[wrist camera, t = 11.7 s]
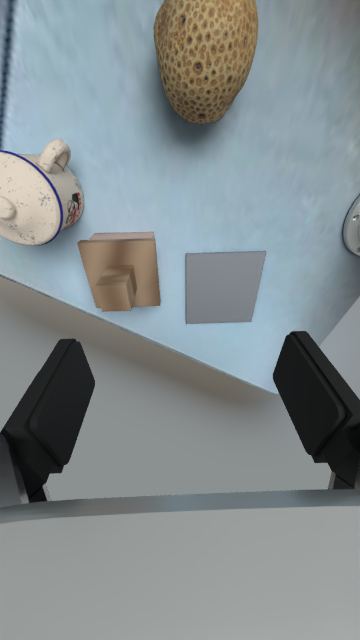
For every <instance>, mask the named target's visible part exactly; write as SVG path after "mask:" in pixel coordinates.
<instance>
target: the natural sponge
mask: <svg viewBox="0 0 360 640" xmlns="http://www.w3.org/2000/svg"><path fill="white" fill-rule="evenodd" d="M257 37H258V16H257V7H256V3H255V0H164V2H163V4H162V5H161V7H160V9H159V11H158V13H157V16H156V19H155V24H154V42H155V48H156V53H157V58H158V64H159V70H160V76H161V81H162V85H163V88H164V91H165V94H166V97H167V99H168V101H169V103H170V104H171V106H172V107H173V108H174V110H175V111H176V112H177V113H178V114H179V115H180V116H181V117H182V118H184V119H185V120H187V121H189V122H191V123H197V124H208V123H212V122H216V121H218V120H219V119H220V118H222V116H223V115H224V114H225V113H226V111H227V110H228V109H229V107H230V105H231V104H232V102H233V100H234V98H235V97H236V95H237V94H238V93H239V91H240V90H241V89H242V87H243V85H244V84H245V81H246V79H247V76H248V74H249V71H250V68H251V65H252V62H253V58H254V54H255V50H256V45H257Z"/></svg>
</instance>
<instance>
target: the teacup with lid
mask: <svg viewBox="0 0 360 640" xmlns="http://www.w3.org/2000/svg"><path fill="white" fill-rule="evenodd" d="M70 156H71V151H70V148H69V146H68V145H67V144H66V143H65V142H64V141H63V140H61V139H54V140H52V141H51V142H50V143H49V144H48V145H47V146H46V147H45V149H44V150H43V152H42V153H41V155H34V154H15V153H12V152H8V151H3V150H0V235H1V236H3V237H5V238H7V239H9V240H11V241H13V242H16V243H19V244H22V245H29V246H38V245H43V244H46V243H49V242H50V241H52V240H53V239H54V238H55V237H56V236H57V235H58V234H59V233H60V232H61V231H63V230H64V229H66V228H67V227H69V226H70V225H72V224H73V223H75V222H76V221H77V220H78V219H79V218H80V216H81V214H82V211H83V207H84V197H83V192H82V189H81V186H80V184H79V182H78V180H77V178H76V177H75V175H74V174H73V173H72V172H71V171H70V169H69V168H68V167H67V165H68V163H69V160H70Z"/></svg>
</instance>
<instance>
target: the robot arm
mask: <svg viewBox="0 0 360 640" xmlns="http://www.w3.org/2000/svg"><path fill="white" fill-rule="evenodd" d="M343 237H344V242H345V244H346V246H347V248H348V249H349V250H350V251H351V252H353V253H354V254H356V255H358V256H360V196H359V197H358V198H357V199H356V201H355V202H354V204H353V205H352V207H351V209H350V210H349V213H348V215H347V217H346V220H345V224H344V230H343ZM273 380H274V383H275V385H276V387H277V389H278V391H279V394H280V396H281V398H282V400H283V402H284V405H285V407H286V409H287V411H288V413H289V416H290V417H291V420H292V422H293V424H294V426H295V429H296V431H297V433H298V435H299V437H300V440H301V442H302V444H303V446H304V448H305V450H306V452H307V453H308V454H309V455H311V456H312V458H313V460H314V462H315V463H328V465H329V466H330V468H331V470H332V472H331V477H330V482H329V486H328V490H290V491H263V492H235V493H211V494H186V495H163V496H139V497H118V498H95V499H77V500H61V501H51V498H50V495H49V492H48V489H47V486H46V482H47V479H48V476H49V474H50V473H61V472H62V470H63V467H64V465H66V464H67V463H68V462H69V460H70V457H71V454H72V451H73V449H74V446H75V443H76V440H77V437H78V434H79V431H80V428H81V425H82V422H83V419H84V416H85V413H86V411H87V407H88V405H89V402H90V399H91V396H92V393H93V390H94V387H95V380H94V377H93V375H92V372H91V369H90V367H89V364H88V362H87V359H86V356H85V354H84V351H83V349H82V346H81V344H80V342H77V341H76V340H75V339H61V340H59V341H58V343H57V345H56V346H55V348H54V350H53V351H52V353H51V354H50V356H49V357H48V359H47V361H46V362H45V364H44V365H43V367H42V369H41V370H40V371H39V373H38V374H37V375H36V377H35V378H34V380H33V381H32V383H31V385H30V386H29V388H28V389H27V391H26V393H25V394H24V396H23V397H22V399H21V401H20V402H19V404H18V405H17V407H16V408H15V410H14V412H13V413H12V415H11V416H10V418H9V420H8V421H7V423H6V424H5V426H4V428H3V429H2V431H1V432H0V640H360V400H359V398H358V397H357V396H356V395H355V393H354V392H353V391H352V390H351V388H350V387H349V385H348V384H347V383H346V382H345V380H344V379H343V378H342V377H341V375H340V374H339V373H338V371H337V370H336V369H335V368H334V366H333V365H332V364H331V362H330V361H329V360H328V359H327V357H326V356H325V355H324V353H323V352H322V351H321V349H320V348H319V347H318V346H317V344H316V343H315V342H314V340H313V339H312V338H311V337H310V335H309V334H308V333H307V332H306V331H293V332H291V333H290V334H289V335H287V336H286V338H285V341H284V344H283V347H282V349H281V352H280V355H279V358H278V361H277V364H276V367H275V370H274V373H273Z"/></svg>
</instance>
